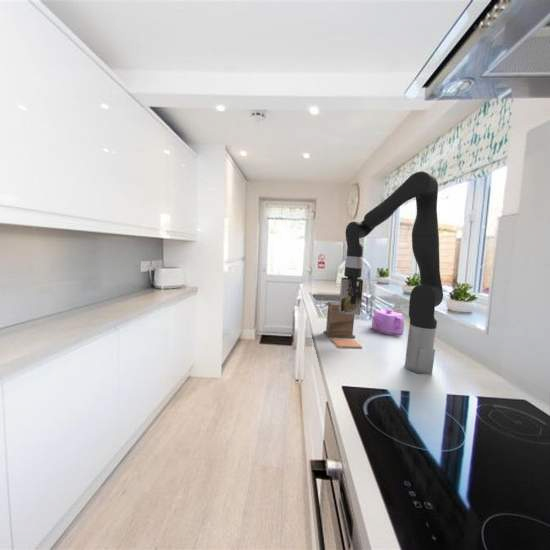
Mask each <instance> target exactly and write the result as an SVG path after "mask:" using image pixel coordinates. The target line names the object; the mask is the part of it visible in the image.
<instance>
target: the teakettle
mask: <svg viewBox="0 0 550 550" xmlns="http://www.w3.org/2000/svg"><path fill="white" fill-rule="evenodd" d="M404 320H405V318H404V314H403V313H400V312H399V313H398V312H396V311H395V312H394V311H393V309H391V308H387V309H386V310H373V315H372V320H371V327H372V329H373V330H374V329H375V330H374V331H376V330H377V332H378V333H382V334H385V335H387V336H393V335H403V334H404V329H405V322H404Z"/></svg>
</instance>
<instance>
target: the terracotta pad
mask: <svg viewBox="0 0 550 550" xmlns="http://www.w3.org/2000/svg"><path fill="white" fill-rule="evenodd" d="M330 340H331V342H333V343H335V344H336V345H335V344H334V345H335V346H336V347H337V348H339V349H363V346H362V345H361V344H360V343H358V342H357V341H356V340H355V338H330Z"/></svg>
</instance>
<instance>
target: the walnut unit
mask: <svg viewBox="0 0 550 550" xmlns="http://www.w3.org/2000/svg"><path fill="white" fill-rule="evenodd" d="M339 304H340V301H339V302H337V301H336V302H335V301H334V302H333V301H328V303H327V316H326V326H325V327H326V329H325V330H323V334H324V335H325V336H326V337H327V338H330V339H331V338H342V339H356V335H354V325H355V324H354V323H355V315H354V314H340V312H339Z"/></svg>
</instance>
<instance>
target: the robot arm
mask: <svg viewBox="0 0 550 550" xmlns="http://www.w3.org/2000/svg"><path fill="white" fill-rule="evenodd" d="M438 193H439V184H438V180H437V178H436V177H435V176H434V175H432V174H430V173H429V172H426V171H423V170H422V171H416V172H415V173H412V174H411V175H410V176H409V177H408V178H407V179H406V180H405V181H404V182H403V183H402V184H401V185H400V186H399V187H398V188H397V189H395V190H394V191H393V192H392V193H391V194H390V195H389V196H388V197H387V198H386V199H385V200H383V201H382V202H381V203H379V204H377V206H375V207H374V208H372V209H371V210H369V211H367V213H366V214H365V215H364V217H363V220H361V221H360V222H359V221H351V222H349V223H348V224H347V226H346V228H345V240H346V246H347V247H346V258H345V262H344V274H343V276H344V277H345V278H350V279H352V286H354V289H353V288H352V287H351V286H350V291H351V295H352V296H351V304H356V297H357V295H359V293H360V284H361V282H358V280H357V278H359V279H361V278H362V271H363V253H364V246H363V244H361V243H360V239H363V238H365V237H367V236H368V235H369V234H370V233H371V232H373V230H374V229H375V228H376V227H378V226H380V225H381V224H382V223H384V222H386V221H387V220H388V219H389V218H391V216H392V215H394V213H395V212H396V211H397V210H398V209H399V207H401V206H403V204H404V203H406V202H408V201H409V200H412V199H415V203H416V216H415V220H414V223H413V226H412V229H411V246H412V247H411V249H412V253H413V256H414V259H415V261H416V264H417V266H418V269H419V270H418V271H419V284H417V285H415V286H414V287H413V288H412V289H411V292H410V295H409V304H408V305H409V306H408V318H409V325H408V326H409V328H408V334H407V342H406V350H405V351H406V353H405V359H404V361H405V362H404V367H405V368H406V369H407V370H409V371H412V372H414V373H416V374H432V375H433V370H434V369H433V368H434V362H435V361H434V360H435V355H436V354H435V353H436V349H435V341H436V333H437V325H438V321H437V319H436V318H435V308H436V307H438V306H439V305H441V303H442V301H443V300H444V290H443V284H442V278H441V268H440V267H441V265H440V236H439V235H440V233H439V222H438V221H439V220H438V218H439V217H438V209H437V207H438ZM357 290H358V292H357ZM355 291H356V292H355Z"/></svg>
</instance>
